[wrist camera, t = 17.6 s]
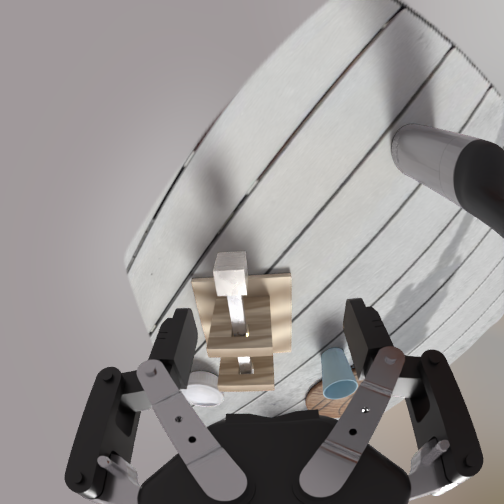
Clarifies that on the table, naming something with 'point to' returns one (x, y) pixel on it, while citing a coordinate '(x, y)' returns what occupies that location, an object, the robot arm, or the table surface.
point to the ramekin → (203, 389)
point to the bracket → (258, 326)
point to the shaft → (234, 294)
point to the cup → (337, 375)
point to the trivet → (328, 400)
